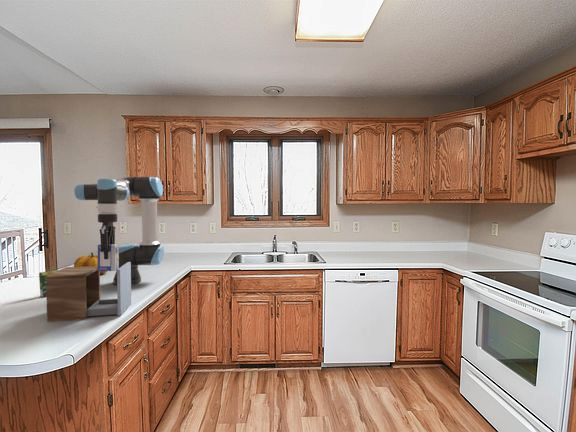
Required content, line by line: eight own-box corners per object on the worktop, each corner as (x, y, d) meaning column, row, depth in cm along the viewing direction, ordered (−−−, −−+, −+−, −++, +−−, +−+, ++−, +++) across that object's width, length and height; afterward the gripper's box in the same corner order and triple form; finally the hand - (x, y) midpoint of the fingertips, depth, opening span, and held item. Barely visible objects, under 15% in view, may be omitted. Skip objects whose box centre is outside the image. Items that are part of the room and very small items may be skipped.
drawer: (99, 304, 144) (99, 263, 143) (131, 302, 147) (130, 261, 146) (85, 317, 127) (84, 271, 126) (120, 315, 130) (120, 269, 129)
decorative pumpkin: (65, 277, 196) (64, 254, 196) (96, 269, 217) (96, 249, 217) (88, 279, 190) (87, 256, 189) (118, 272, 211) (117, 251, 210)
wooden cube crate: (66, 307, 140) (65, 267, 139) (100, 305, 144) (99, 266, 143) (47, 321, 124) (45, 276, 123) (85, 318, 127) (84, 274, 126)
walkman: (97, 271, 134) (97, 244, 134) (100, 269, 137) (101, 243, 137) (115, 271, 135) (115, 244, 135) (118, 269, 138) (118, 243, 137)
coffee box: (42, 298, 154) (41, 272, 153) (39, 297, 155) (38, 272, 155) (60, 294, 161) (59, 269, 160) (57, 293, 162) (56, 269, 162)
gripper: (104, 212, 142) (105, 262, 143) (91, 214, 126) (92, 269, 127) (122, 212, 144) (122, 261, 145) (110, 214, 128) (111, 268, 129)
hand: (108, 265), depth 136 cm, fingers closed on walkman, 3 cm apart
